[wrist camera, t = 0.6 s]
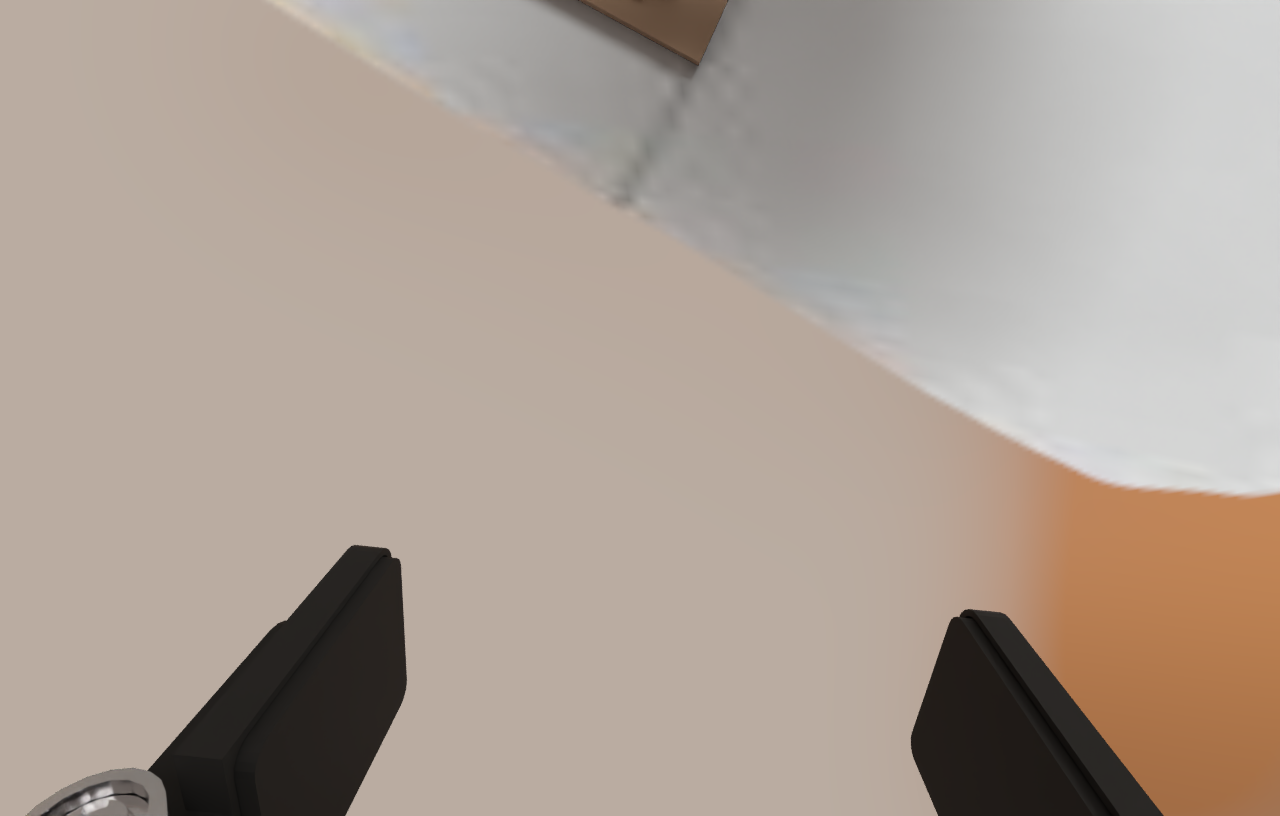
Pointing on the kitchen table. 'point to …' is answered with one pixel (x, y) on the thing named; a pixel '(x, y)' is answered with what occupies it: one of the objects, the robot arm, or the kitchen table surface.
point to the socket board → (668, 21)
